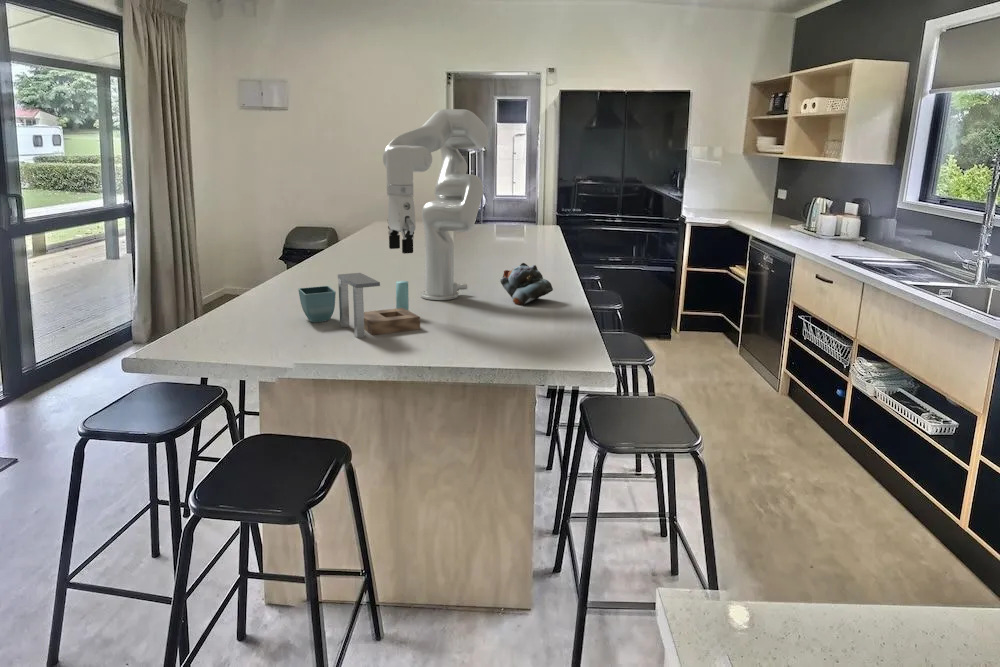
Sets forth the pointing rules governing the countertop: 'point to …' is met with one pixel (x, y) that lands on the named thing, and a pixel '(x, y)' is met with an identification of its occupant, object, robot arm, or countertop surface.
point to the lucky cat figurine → (525, 284)
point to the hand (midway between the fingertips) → (401, 250)
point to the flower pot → (317, 302)
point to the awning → (358, 284)
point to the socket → (390, 321)
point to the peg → (402, 295)
